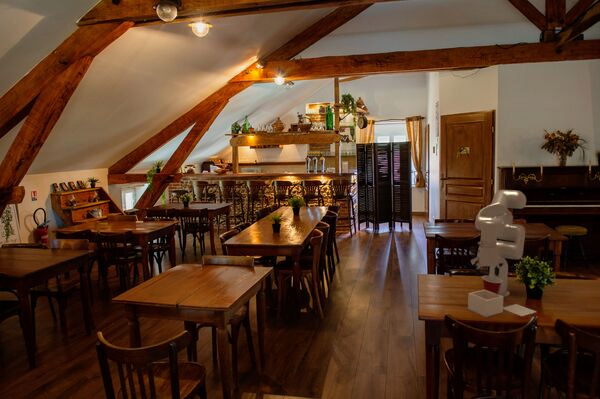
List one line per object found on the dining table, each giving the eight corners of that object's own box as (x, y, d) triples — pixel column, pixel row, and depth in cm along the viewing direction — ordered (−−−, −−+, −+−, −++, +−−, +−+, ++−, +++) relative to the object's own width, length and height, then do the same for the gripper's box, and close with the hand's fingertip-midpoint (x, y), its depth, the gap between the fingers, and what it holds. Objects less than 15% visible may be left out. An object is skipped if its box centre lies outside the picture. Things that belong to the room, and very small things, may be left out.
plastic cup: (501, 303, 237) (502, 282, 236) (480, 300, 242) (481, 279, 241) (502, 297, 247) (503, 276, 245) (482, 293, 252) (483, 274, 250)
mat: (501, 309, 230) (501, 308, 229) (516, 304, 235) (516, 304, 235) (521, 317, 219) (521, 316, 219) (536, 312, 224) (536, 311, 224)
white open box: (467, 309, 230) (468, 293, 228) (483, 305, 235) (484, 289, 234) (486, 317, 219) (487, 300, 218) (502, 313, 224) (503, 296, 223)
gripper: (474, 246, 218) (473, 278, 221) (508, 245, 218) (507, 277, 221) (468, 242, 226) (467, 273, 229) (502, 241, 225) (500, 272, 228)
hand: (487, 275), depth 225 cm, fingers open, 9 cm apart
